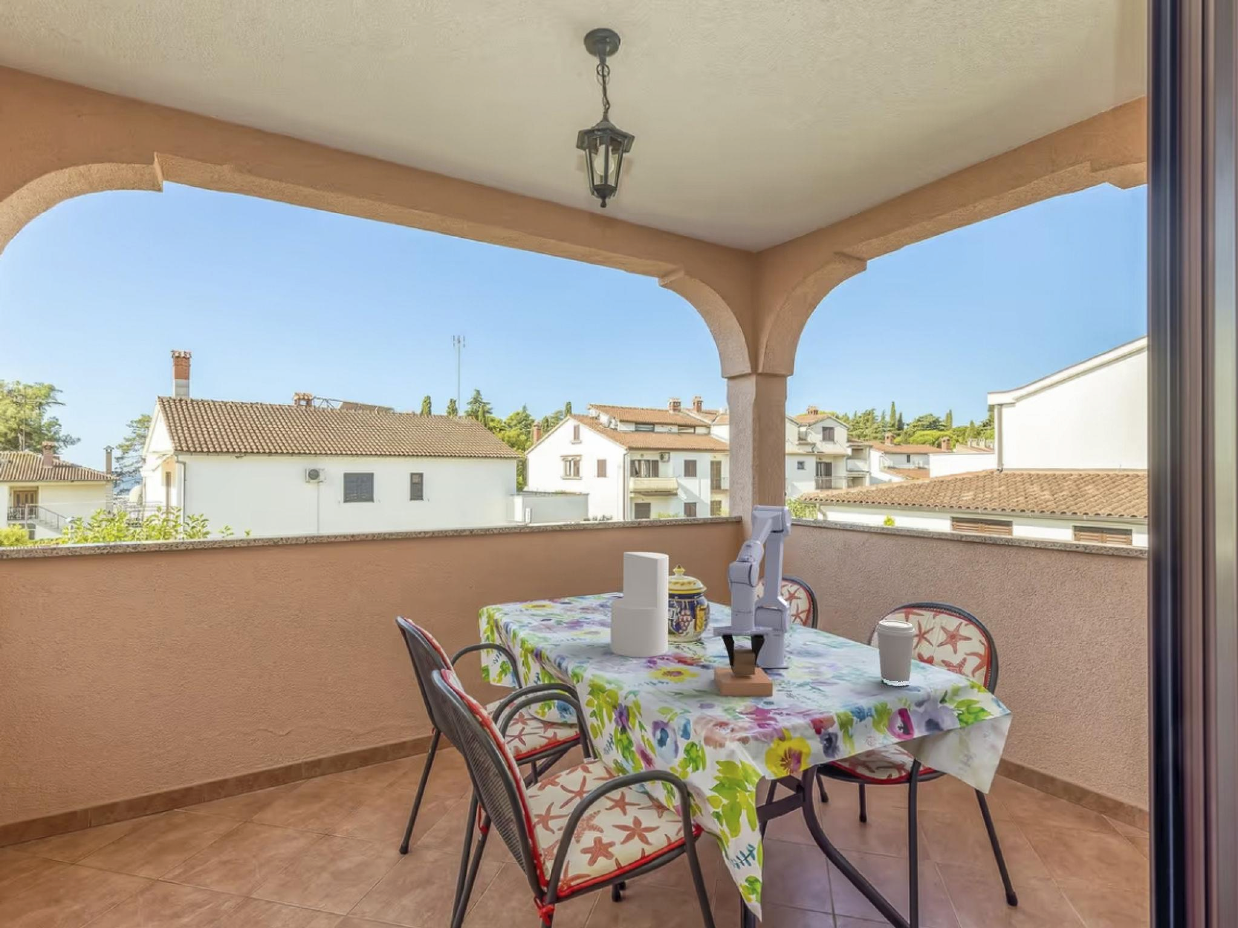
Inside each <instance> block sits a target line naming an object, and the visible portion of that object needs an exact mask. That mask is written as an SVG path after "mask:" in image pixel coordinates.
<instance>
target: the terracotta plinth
mask: <svg viewBox="0 0 1238 928" xmlns="http://www.w3.org/2000/svg"><path fill="white" fill-rule="evenodd" d="M713 668H714V669H713V671H714V672H713V676H714V677H713V679H714V682H715V684H716V685H717V688H718V690H719V692H720V694H721V696H732V697H733V696H748V697H749V696H752V697H753V696H755V697H759V696H761V697H763V696H765V697H767V696H770V697H772V696H773V691H774V689H773V687H774V686H773V682H772V680H771V679H770V677H768V675H767V674H766V673H765V671H764V670H763V668H760V667H755V675H734V673H733V671H732V670H731V667H717V666H716V667H713Z"/></svg>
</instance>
